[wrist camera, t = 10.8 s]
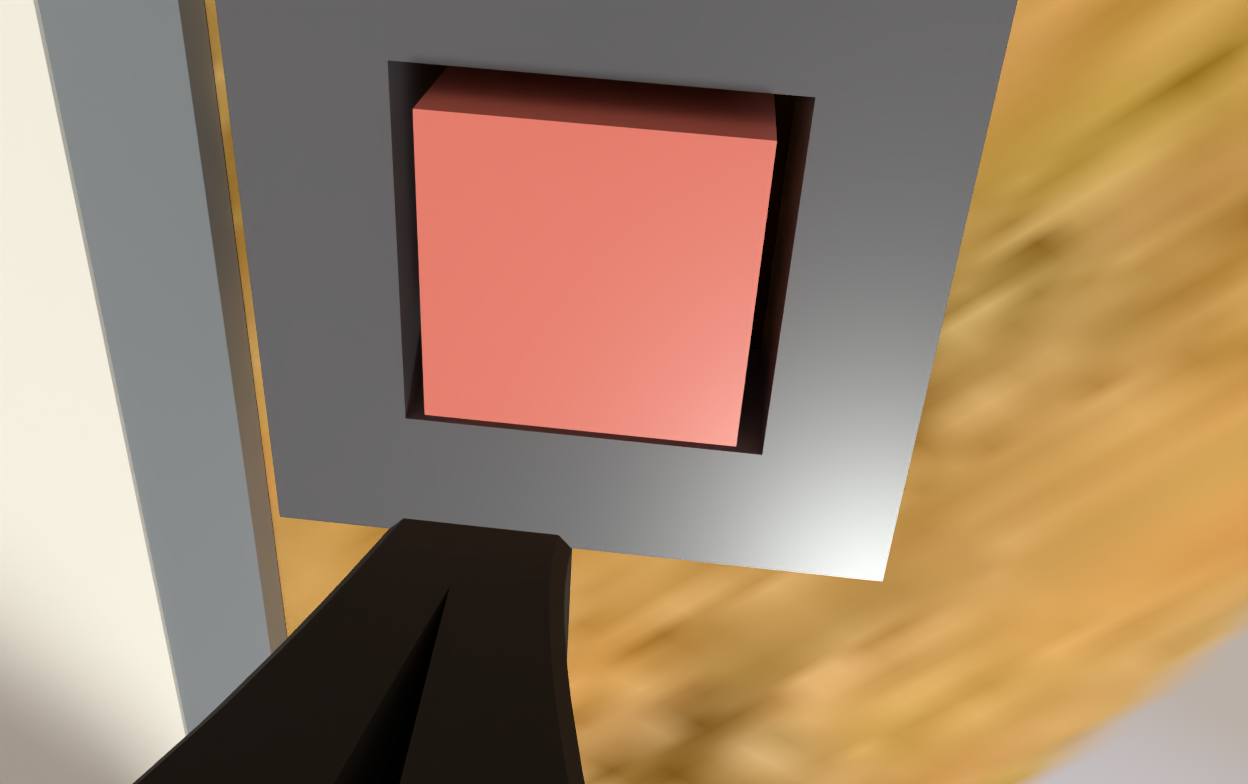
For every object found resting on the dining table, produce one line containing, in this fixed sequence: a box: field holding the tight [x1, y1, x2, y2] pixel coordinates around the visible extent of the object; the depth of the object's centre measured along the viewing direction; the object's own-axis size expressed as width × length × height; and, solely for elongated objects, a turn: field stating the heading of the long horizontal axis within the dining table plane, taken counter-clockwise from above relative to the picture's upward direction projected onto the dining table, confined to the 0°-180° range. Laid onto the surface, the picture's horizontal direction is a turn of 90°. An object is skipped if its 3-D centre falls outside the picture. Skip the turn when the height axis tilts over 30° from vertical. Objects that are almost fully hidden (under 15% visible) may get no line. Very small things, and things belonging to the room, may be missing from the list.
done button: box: [413, 66, 777, 447], centre depth 15 cm, size 4×4×2 cm
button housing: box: [215, 0, 1018, 581], centre depth 16 cm, size 9×9×3 cm
